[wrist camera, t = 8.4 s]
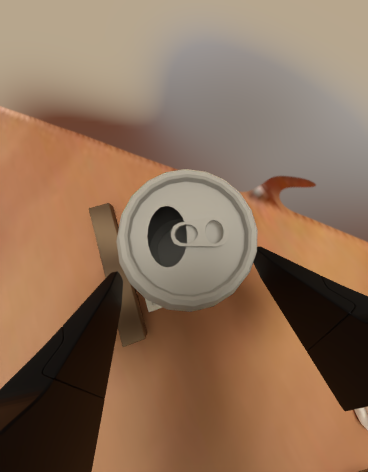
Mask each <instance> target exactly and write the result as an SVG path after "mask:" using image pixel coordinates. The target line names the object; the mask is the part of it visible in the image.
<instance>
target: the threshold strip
mask: <svg viewBox="0 0 368 472" xmlns="http://www.w3.org/2000/svg"><path fill="white" fill-rule="evenodd" d="M89 212H90V216H91V220H92V224H93V228H94V232H95V236H96V240H97V245H98V249H99V253H100V257H101V261H102V265H103V269H104V273H105V277H107V276H108V275H109V274H110V273H111V272H115V271H118V272H119V273H120V275H121V277H122V279H123V293H122V306H121V312H120V318H119V323H118V330H119V334H120V338H121V342H122V346H123V347H125V346H127V345H130V344H133V343H135V342H138V341H140V340H143V339H145V337H146V335H147V331H146V327H145V323H144V320H143V316H142V312H141V309H140V305H139V301H138V297H137V294H136V290H135V288H134V287H133V286H132V285H131V284H130V283H129V281H128V279H127V277H126V275H125V273H124V271H123V269H122V267H121V265H120V263H119V256H118V249H117V242H116V241H117V235H118V230H119V227H118V224H117V220H116V216H115V213H114V209H113V206H112V205H110V204H109V203H107V204H103V205H100V206H96V207H92V208H89Z"/></svg>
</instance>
